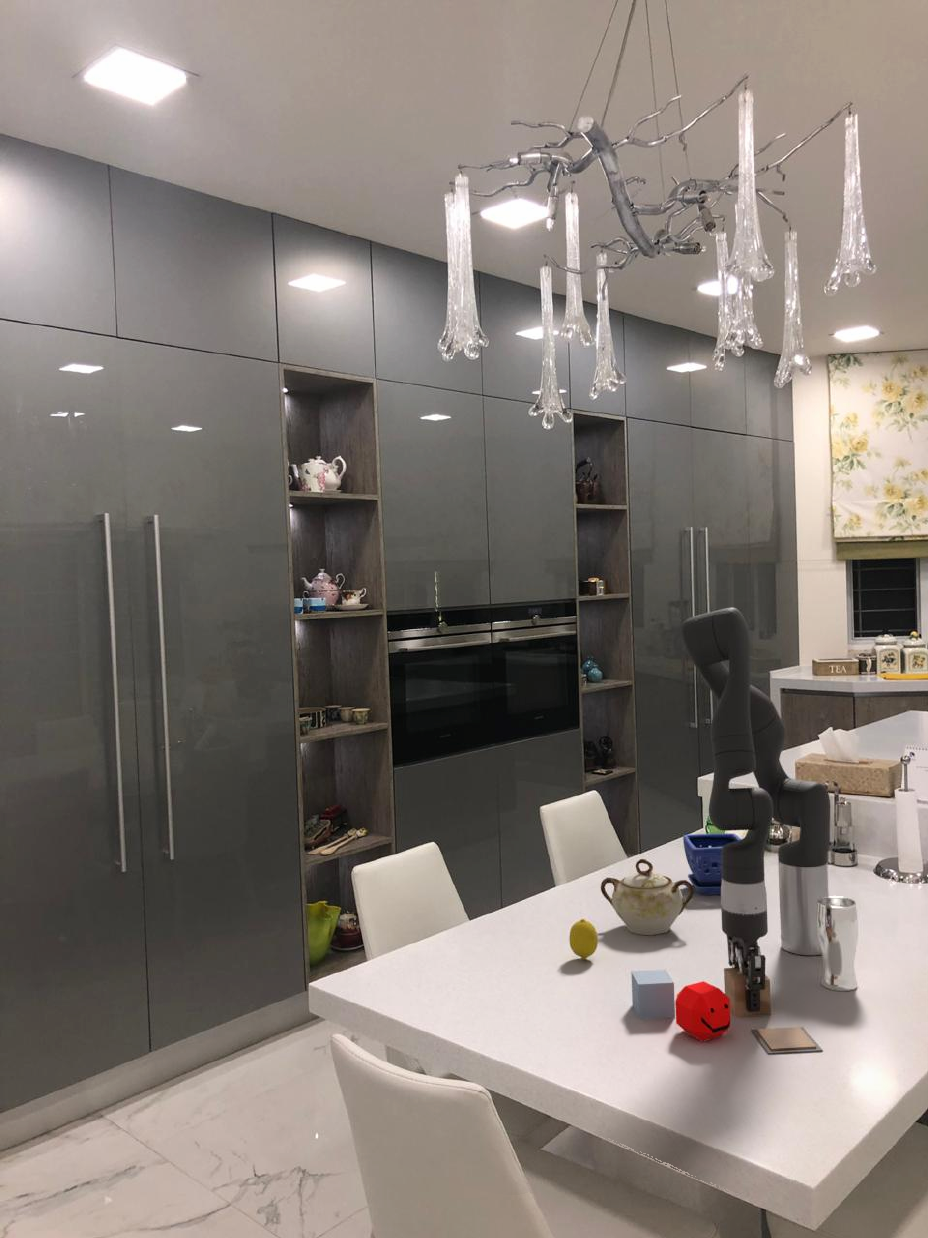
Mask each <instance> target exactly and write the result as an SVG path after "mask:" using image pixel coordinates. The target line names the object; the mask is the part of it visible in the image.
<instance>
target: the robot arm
mask: <svg viewBox="0 0 928 1238" xmlns="http://www.w3.org/2000/svg"><path fill="white" fill-rule="evenodd" d="M680 632H681V639H682V642H683V645H684V648H685V651H686V652H687V655H688V657H689V658H690V660H691V662H692V663H693V665H694V667H695V668H696V670H697V672H698V673H699V674H700V676H701V677H702V679H703V680H704V682H705V683H706V685H707V686H708V688H709V690H710V692H711V693H712V694H713V696H714V698H715V700H716V702H717V706H716V708H715V711H714V713H713V716H712V720H711V725H710V740H711V748H712V757H713V781H712V788H711V793H710V798H709V803H708V804H709V805H708V816H709V819H710V821H711V823H712V825H713V826H714V827H715V828H716V829H717V830H720V831H725V832H726V831H729V832H730V831H748V832H747V834H746V835H745V837H744V838H742V839H741V840H739V841H735V842H731V843H728V844H726V845H724V846H723V848H722V851H721V867H722V885H721V894H720V902H721V903H720V904H721V906H720V907H721V930H722V932H723V933H724V934H725V935H726V942H727V955H728V965H729V967H731V968H739V969H740V974H741V975H743V976H744V981H745V988H746V1009H747V1010H748V1011H749V1012H758V1011H760V990H765V975H766V961H767V960H766V956H765V955H764V954H761V953H762V951H761V948H760V945H759V944H758V940H759V939H761V938H763V937H765V936H767V934H768V932H769V930H768V899H767V898H768V897H767V889H766V882H765V881H766V880H765V859H764V858H765V850H766V845H767V839H768V836H769V832H770V828H771V825H772V821H773V820H774V821H775V822H776V823H778V824H781V825H784V826H788V827H789V826H790V827H796V828H799V829H800V830H799V838H798V839H797V840H794V841H789V842H785V843H782V844H780V846H779V847H778V852H777V857H778V860H777V862H778V883H779V884H778V886H779V910H780V911H779V914H780V917H779V918H780V940H781V945H780V946H781V948H782V949H783V950H784V951H787V952H789V953H792V954H794V955H802V956H818V955H819V956H820V955H821V956H822V953H821V948H820V944H819V939H818V933H817V900H818V899H819V898H822V897H828V896H830V894H829V892H830V891H829V871H828V870H829V865H828V864H829V863H828V854H829V850H830V844H831V841H830V840H831V833H830V832H831V799H830V794H829V791H828V789H827V787H826V786H825V785H824V784H823V783H820V782H817V781H811V780H802V779H795V778H791V777H789V776H788V774H787V773H786V771H785V770H784V768H783V765H782V762H781V760H780V759H781V754H782V752H783V748H784V745H785V740H786V728H785V725H784V722H783V720H782V717H781V716H780V714H779V711H778V710H777V707H776V706H775V704H774V702H773V701H772V700H771V698H770V697H769V696H768V695H766V693H764V692H763V691H761V690H760V689H759V688H758V687H757V688H756V687H755V686H753V685H752V684H751V678H752V677H751V673H752V672H751V671H752V670H751V668H752V667H751V638H750V631H749V626H748V623H747V620H746V619H745V617H744V615H743V614H742V612H741V611H740V610H739V609H737V608H736V607H726V608H721V609H718V610H714V611H710V612H706V613H702V614H699V615H698V614H697V615H695V616H694V615H693V616H692V617H689V618H687V619H686V620H684V622H683V623H682V624H681V631H680ZM725 661H728V662H729V663H728V664H729V665H728V667H727V666H726V665H725V664H724V662H725ZM752 773H753V775H754V777H755V780H756V783H757V786H758V787H735V788H733V787H731V788H730V782H731V780H733V779H736V778H739V777H744V776H746V775H750V774H752ZM745 968H748V970H746V969H745ZM754 978H756V982H753V979H754Z"/></svg>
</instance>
